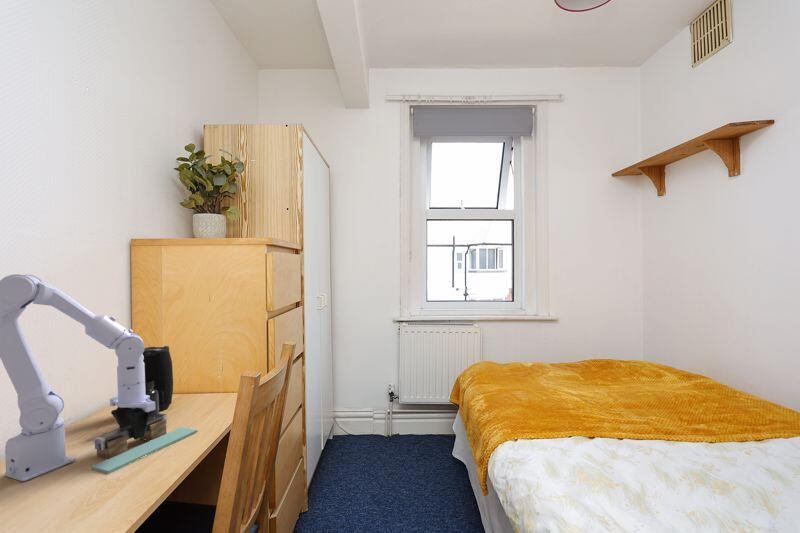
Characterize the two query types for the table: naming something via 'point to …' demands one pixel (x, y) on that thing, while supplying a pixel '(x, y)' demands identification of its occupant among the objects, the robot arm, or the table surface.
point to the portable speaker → (160, 373)
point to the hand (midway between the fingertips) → (133, 436)
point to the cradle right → (155, 430)
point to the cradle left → (113, 448)
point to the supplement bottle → (152, 395)
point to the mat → (143, 450)
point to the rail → (125, 432)
